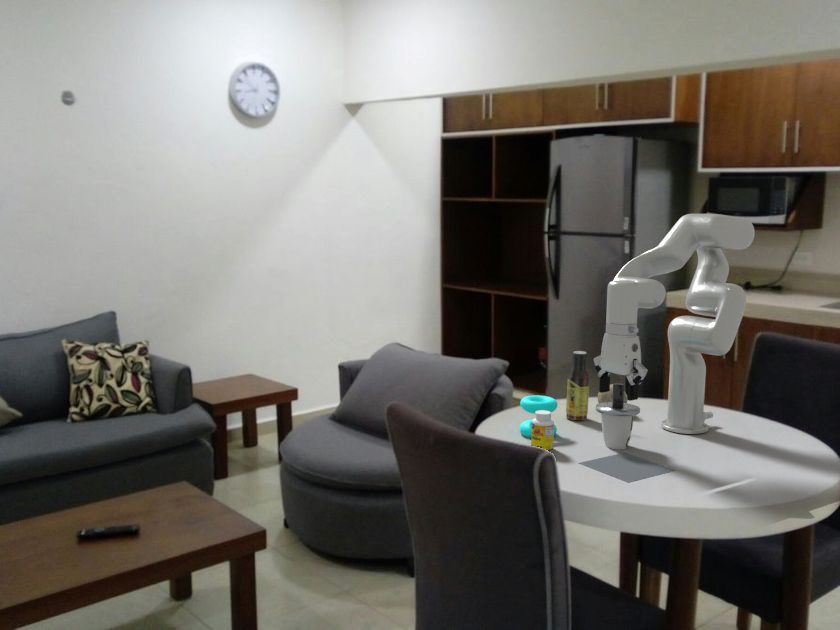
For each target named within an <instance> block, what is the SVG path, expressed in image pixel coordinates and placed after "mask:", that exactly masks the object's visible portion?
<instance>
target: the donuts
mask: <svg viewBox="0 0 840 630" xmlns="http://www.w3.org/2000/svg"><path fill="white" fill-rule="evenodd" d="M519 404H520V405H519V406H520V408H521V409H522V410H524V411H525V412H527V413H528V414H533V415H535V412H536V411H539V410H545V411H549V412H551V413H553V412H554V411H556V410H557V409H558V401H557V400H556V399H555V398H553V397H551V396H547V395H535V394H534V395H528V396H527V395H526V396H525V397H523V398H521V399H520V401H519ZM533 419H534V418H533ZM533 419H527V420H525V421H523V422H521V423H520V426H519V432H520V433H521V435H523V436H524V437H527V438H531V436H532V420H533ZM557 431H558V429H557V426H556V424H554V436H555V435H556V434H557Z"/></svg>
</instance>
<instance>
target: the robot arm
mask: <svg viewBox="0 0 840 630" xmlns="http://www.w3.org/2000/svg"><path fill="white" fill-rule="evenodd" d="M755 234H756V233H755V227H754V225H753V223H752V222H751V221H750V220H749V219H747V218H745V217H737V216H730V215H725V214H721V213H720V214H718V213H717V214H716V213H687V214H685V215H682V216H681V217H680V218H679V219H678V220H677V221H676V222H675V224H674V225H673V226H672V227H671V228H670V230H669V231H668V232H667V234H666V235H665V236H664V237H663V238H662V240H661V241H660V242H659V244H658V245H657V246H656V247H654V248H652V249H649V250H647V251H645V252H644V253H641V254H639V256H636V257H634V258H631V260H630V261H628V262H627V263H626V264H625V265H623V266H622V268H620V270H619V271H618V273H617V274H616V275H615V277H614V278H613V279H612V280H611V281H609V283H608V284H607V290H606V294H607V295H606V319H605V321H606V322H605V333H604V335H603V338H602V343H601V353H600V354H599V355H598V356H596V357H594V358H593V362H594V363H593V364H594V369H595V370H596V372H597V376H598V378H599V384H598V385H599V387H598V389H599V390H598V393H599V392H600V393H603V392H609V391H610V384H611V376H610V374H615V375H618V376H622V377H626V379H627V381H628V383H629V384H628V385H627V399H628V401H629V402H630V401H636V400H638V399H639V390H640V389H639V388H640V387H639V385H641V384H642V382H643V381H644V380H645V377H646V376H647V373H648V369H647V368H646V367H645V366H644V365H643V364H642V352H641V351H642V350H641V342H640V341H641V340H640V336H638V335H637V334H638V333H639V329H640V328H638V327H637V326H638V325H637V324H638V310H639V309H640V308H641V309H656V308H657V307H659V306H661V304H663V302H664V301H665V300H666V299H665V298H666V295H667V293H666V292H667V291H666V288H665V286H664V284H663V283H662V282H660V281H658V280H656V279H653V278H652V277H655V276H659V275H660V276H661V275H664V274H668V273H672V272H675V271H678V270H680V269H682V268H683V267H684V266H685V265H686V263H687V262H688V261H689V260H690V258H691V257H692V256H693V254H695V253H694V252H695V251H696V253H697V266H696V269H695V272H694V274H693V278H692V280H691V283H690V285H689V288H688V290H687V293H686V294H687V295H686V297H685V307H686V309H687V310H688V312H691V313H692V314H696V315H700V316H693V315H681V316H680V315H679V316H677V317H675V318H673V319H672V320H671V322H669V325H668V328H667V340H668V345H669V377H668V378H669V379H668V395H667V396H668V397H667V416H666V417H667V418H666V419H664V420H663V419H662V421H661V423H660V427H661V428H663V429H664V430H666V431H668V432H671V433H678V434H683V435H684V434H685V435H686V434H687V435H698V434H699V435H700V434H705V433H707V432H708V431H709V425H708V423H706V422H705V421H706V420H708V419H712V418H713V417H714V414H713V412H712V411H704V410H705V409H704V407H705V391H706V375H707V366H706V363H705V359H704V357H703V355H702V354H705V355H712V356H725V355H726V354H727V353H728V352H729V351H730V350H731V348H732V346H733V344H734V341H735V338H736V335H737V333H738V331H739V328H740V324H741V322H742V319H743V317H744V314H745V310H746V306H747V305H746V304H747V296H746V292H745V290H744V289H743V287H741V286H740V285H738V284H735V283H730V282H729V283H728V282H727V279H728V276H729V274H730V273H729V272H730V265H729V262H728V260H727V258H726V256H725V254H724V252H723V251H722V249H724V250H739V251H740V250H745V249H747V248H749V247H750V245H752V244H753V242H754V238H755ZM701 316H705V317H701ZM706 317H715V319H714V318H713V319H712V318H706Z"/></svg>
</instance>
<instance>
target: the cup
mask: <svg viewBox="0 0 840 630" xmlns="http://www.w3.org/2000/svg"><path fill="white" fill-rule="evenodd" d="M634 416H635V415H633V416H613V415H607V414H602V413H601V429H602V437H603V440H604V445H605V447H606V448H609V449H612V450H625V449H627V447H628V446H629V443H630V440H631V435H632V430H633V426H634Z"/></svg>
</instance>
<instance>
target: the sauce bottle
mask: <svg viewBox="0 0 840 630" xmlns="http://www.w3.org/2000/svg"><path fill="white" fill-rule="evenodd" d="M587 358H588V352H587V351H583V350H582V351H581V350H576V351H573V352H572V367H571V369H570V370H569V371H570V372H569V374H568V377H567V385H566V386H567V387H566V403H565V414H566V415H565V416H566V419H568V420H570V421H572V420H578V421H577V422H580V421H579V420H583V421H586V420H587V418H588V413H589V396H590V394H589V393H590V374H589V372H588V370H587Z"/></svg>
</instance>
